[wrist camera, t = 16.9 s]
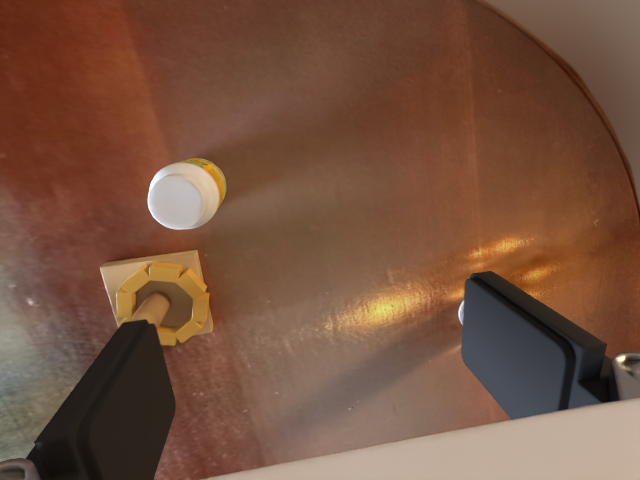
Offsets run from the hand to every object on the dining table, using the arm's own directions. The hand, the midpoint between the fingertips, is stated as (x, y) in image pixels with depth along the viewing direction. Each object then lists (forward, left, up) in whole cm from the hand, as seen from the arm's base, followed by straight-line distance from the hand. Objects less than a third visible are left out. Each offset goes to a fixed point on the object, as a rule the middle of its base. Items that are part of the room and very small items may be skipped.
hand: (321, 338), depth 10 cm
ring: (+9, -13, -25) cm, 30 cm away
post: (+9, -14, -27) cm, 32 cm away
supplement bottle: (-2, -8, -27) cm, 28 cm away
